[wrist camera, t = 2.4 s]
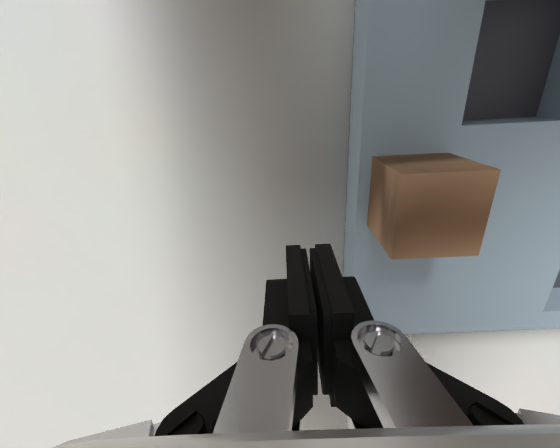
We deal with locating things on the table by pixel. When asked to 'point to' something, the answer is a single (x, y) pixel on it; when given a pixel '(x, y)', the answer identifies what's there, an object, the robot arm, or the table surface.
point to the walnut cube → (430, 204)
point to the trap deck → (461, 155)
